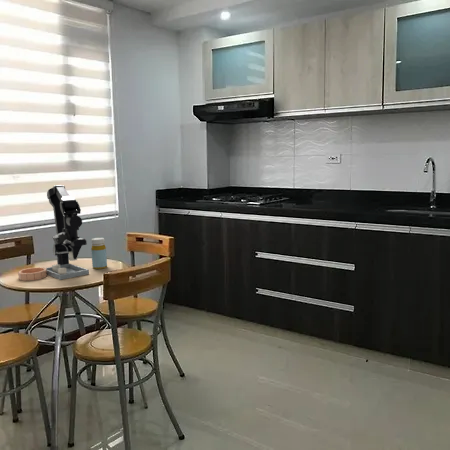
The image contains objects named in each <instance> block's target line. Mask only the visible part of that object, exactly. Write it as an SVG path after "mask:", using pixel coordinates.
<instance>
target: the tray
mask: <svg viewBox="0 0 450 450" xmlns="http://www.w3.org/2000/svg"><path fill="white" fill-rule="evenodd" d="M45 268H46V269H47V276H49V277H52V278H55V279H57V280H66V279H73V278H75V277H80V276H85V275H90V271H89V269H88V268H84V267H81V266H79V265H76V264H72V263H69V264H65V265H60V268H66V271H67V274H63V275H59V274H57V273H54V272H53V270H52V266H50V267H45Z"/></svg>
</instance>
